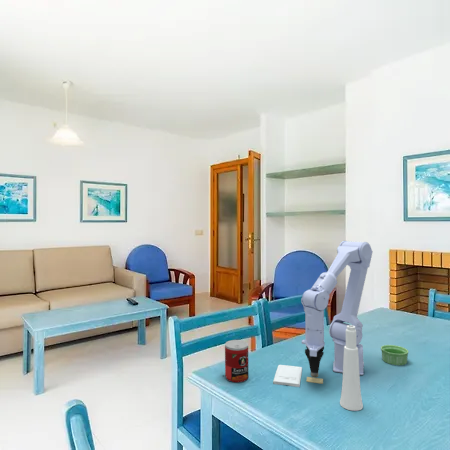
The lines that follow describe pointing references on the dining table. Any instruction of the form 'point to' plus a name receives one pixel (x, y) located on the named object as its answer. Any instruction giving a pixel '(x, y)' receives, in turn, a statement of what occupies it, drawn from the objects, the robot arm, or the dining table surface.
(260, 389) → the dining table surface
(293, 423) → the dining table surface
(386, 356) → the ramekin
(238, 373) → the canned food
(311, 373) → the photo-textured cylinder
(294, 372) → the external hard drive
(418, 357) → the dining table surface
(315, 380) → the plate
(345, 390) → the cosmetic bottle
